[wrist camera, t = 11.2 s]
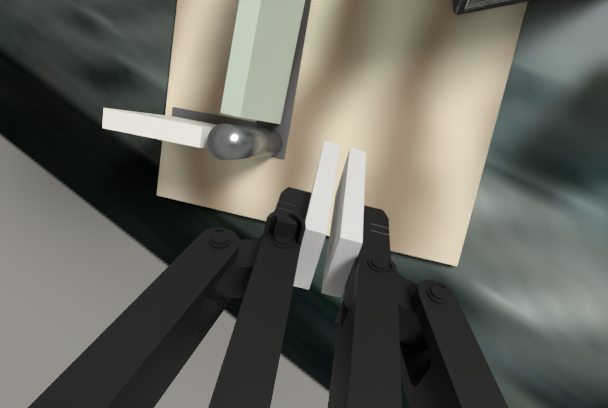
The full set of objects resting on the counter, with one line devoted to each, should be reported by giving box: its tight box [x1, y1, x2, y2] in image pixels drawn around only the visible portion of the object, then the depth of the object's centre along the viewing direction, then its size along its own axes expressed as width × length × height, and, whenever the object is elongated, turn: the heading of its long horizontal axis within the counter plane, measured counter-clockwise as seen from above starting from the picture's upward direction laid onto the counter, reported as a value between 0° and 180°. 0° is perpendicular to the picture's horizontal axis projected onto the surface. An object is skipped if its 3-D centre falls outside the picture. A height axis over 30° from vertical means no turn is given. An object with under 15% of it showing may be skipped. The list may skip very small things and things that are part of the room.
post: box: [207, 124, 283, 160], centre depth 26 cm, size 2×2×8 cm
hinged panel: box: [220, 0, 305, 124], centre depth 24 cm, size 13×1×8 cm, turn 167°
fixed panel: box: [102, 108, 216, 148], centre depth 26 cm, size 6×1×8 cm, turn 79°
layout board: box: [157, 0, 528, 266], centre depth 28 cm, size 24×18×1 cm
